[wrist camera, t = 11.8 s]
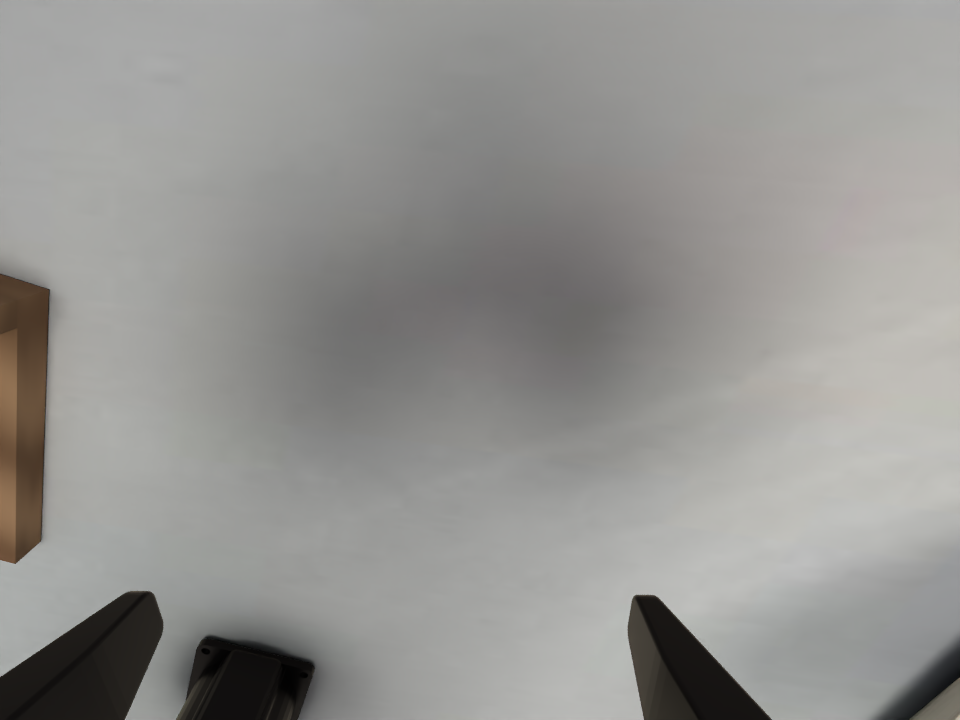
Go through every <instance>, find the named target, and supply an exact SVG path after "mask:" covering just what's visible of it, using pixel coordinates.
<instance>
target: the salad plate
mask: <svg viewBox="0 0 960 720" xmlns="http://www.w3.org/2000/svg"><path fill="white" fill-rule="evenodd" d="M909 720H960V677H959V678H958V679H957V680H956V681H954V682H953V683H952V684H951V685H949V686H948V687H947V688H946V689H945V690H944V691H942V692H941V693H940V694H939V695H938V696H936V697H935V698H934V699H933V700H932V701H930V702H929V703H928V704H927V705H926V706H924V707H923V708H922V709H921V710H920V711H918V712H917V713H916V714H915V715H914V716H913V717H911V718H910V719H909Z"/></svg>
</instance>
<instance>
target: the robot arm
mask: <svg viewBox="0 0 960 720" xmlns="http://www.w3.org/2000/svg"><path fill="white" fill-rule="evenodd" d="M162 632H163V619H162V616H161V613H160V610H159V607H158V604H157V601H156V598H155V596H154V594H153V593H152V592H150V591H130V592H127V593H125V594H123V595H121V596H120V597H118V598H117V599H115V600H114V601H112V602H111V603H109V604H108V605H106V606H105V607H104V608H102V609H101V610H99V611H98V612H96V613H95V614H93V615H92V616H90V617H89V618H87V619H86V620H84V621H83V622H81V623H80V624H78V625H77V626H75V627H74V628H72V629H71V630H69V631H68V632H66V633H65V634H63V635H62V636H61V637H59V638H58V639H56V640H55V641H53V642H52V643H50V644H49V645H47V646H46V647H44V648H43V649H41V650H40V651H38V652H37V653H35V654H34V655H32V656H31V657H29V658H28V659H26V660H25V661H23V662H22V663H21V664H19V665H18V666H16V667H15V668H13V669H12V670H10V671H9V672H7V673H6V674H4V675H3V676H1V677H0V720H125V718H126V716H127V713H128V711H129V709H130V707H131V705H132V702H133V700H134V698H135V695H136V693H137V691H138V688H139V686H140V684H141V682H142V679H143V677H144V675H145V672H146V670H147V668H148V666H149V663H150V661H151V659H152V656H153V654H154V652H155V650H156V647H157V645H158V643H159V640H160V638H161V635H162ZM628 639H629V645H630V650H631V655H632V660H633V665H634V670H635V675H636V681H637V686H638V691H639V696H640V701H641V706H642V711H643V716H644V720H772V719H771V718H770V717H769V716H768V715H767V714H766V713H765V712H764V711H763V709H762V708H761V707H760V706H759V705H758V704H757V703H756V702H755V701H754V700H753V699H752V698H751V697H750V696H749V694H748V693H747V692H746V691H745V690H744V689H743V688H742V687H741V686H740V685H739V684H738V683H737V682H736V680H735V679H734V678H733V677H732V676H731V675H730V674H729V673H728V672H727V671H726V670H725V669H724V668H723V667H722V665H721V664H720V663H719V662H718V661H717V660H716V659H715V658H714V657H713V656H712V655H711V654H710V653H709V652H708V650H707V649H706V648H705V647H704V646H703V645H702V644H701V643H700V642H699V641H698V640H697V639H696V638H695V636H694V635H693V634H692V633H691V632H690V631H689V630H688V629H687V628H686V627H685V626H684V625H683V624H682V623H681V621H680V620H679V619H678V618H677V617H676V616H675V615H674V614H673V613H672V612H671V611H670V610H669V609H668V608H667V606H666V605H665V604H664V603H663V602H662V601H661V600H660V599H659V598H658V597H656V596H654V595H635V596H634V597H633V599H632V603H631V610H630V616H629V622H628ZM314 669H315V668H314V666H313V665H312V664H310V663H307V662H303V661H298V660H294V659H290V658H286V657H282V656H278V655H274V654H270V653H266V652H262V651H258V650H254V649H250V648H246V647H242V646H238V645H234V644H230V643H226V642H222V641H218V640H214V639H208V638H207V639H203V640H201V642H200V644H199V646H198V647H197V650H196V654H195V659H194V664H193V669H192V673H191V678H190V683H189V688H188V692H187V697H186V702H185V704H184V706H183V708H182V709H181V711H180V713H179V715H178V717H177V719H176V720H297V719H298V717H299V714H300V711H301V708H302V705H303V702H304V699H305V697H306V694H307V691H308V688H309V685H310V682H311V679H312V677H313V673H314Z"/></svg>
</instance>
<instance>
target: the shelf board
mask: <svg viewBox="0 0 960 720" xmlns="http://www.w3.org/2000/svg"><path fill="white" fill-rule="evenodd" d="M48 302H49V290H48V289H45V288H42V287H39V286H36V285H33V284H30V283H26V282H23V281H20V280H17V279H14V278H11V277H8V276H5V275H2V274H0V560H2V561H6V562H10V563H14V564H16V563H17V562H18V561H19V560H20V559H21V558H23V557H24V556H25V555H26V554H27V553H28V552H29V551H30V550H32V549H33V548H34V547H35V546H36V545H37V544H38V543H39V542H41V517H42V486H43V456H44V425H45V394H46V364H47V333H48Z"/></svg>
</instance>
